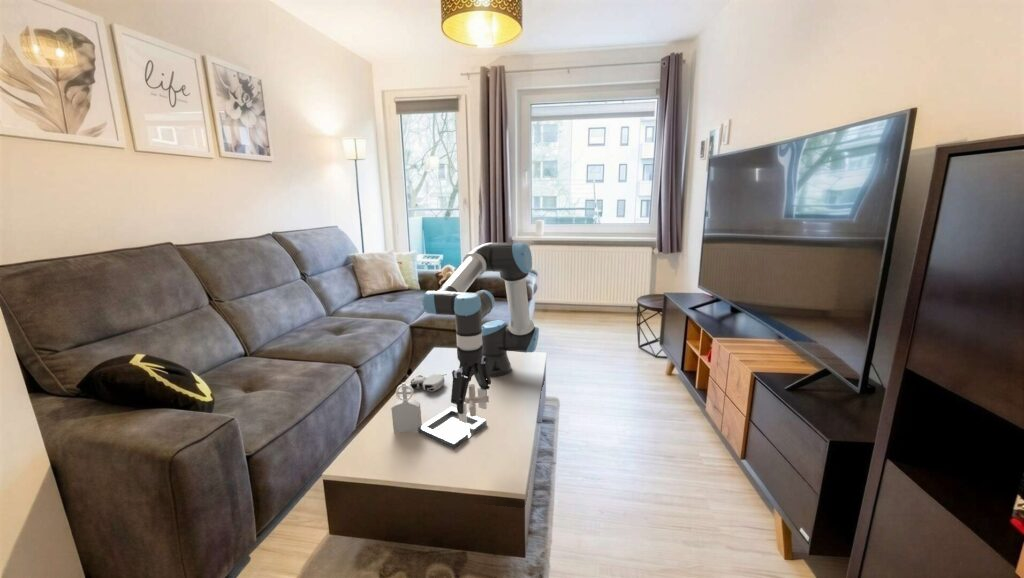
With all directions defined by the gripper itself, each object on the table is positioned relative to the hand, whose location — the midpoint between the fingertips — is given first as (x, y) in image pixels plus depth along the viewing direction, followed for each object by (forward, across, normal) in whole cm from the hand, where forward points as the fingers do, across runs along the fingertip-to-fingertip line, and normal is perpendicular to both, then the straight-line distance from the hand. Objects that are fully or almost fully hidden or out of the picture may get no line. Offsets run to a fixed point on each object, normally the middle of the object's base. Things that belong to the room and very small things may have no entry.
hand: (473, 414), depth 125 cm
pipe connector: (0, 0, 0) cm, 0 cm away
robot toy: (+16, -25, -48) cm, 56 cm away
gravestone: (+15, +1, -30) cm, 34 cm away
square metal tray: (+15, -8, -17) cm, 24 cm away
